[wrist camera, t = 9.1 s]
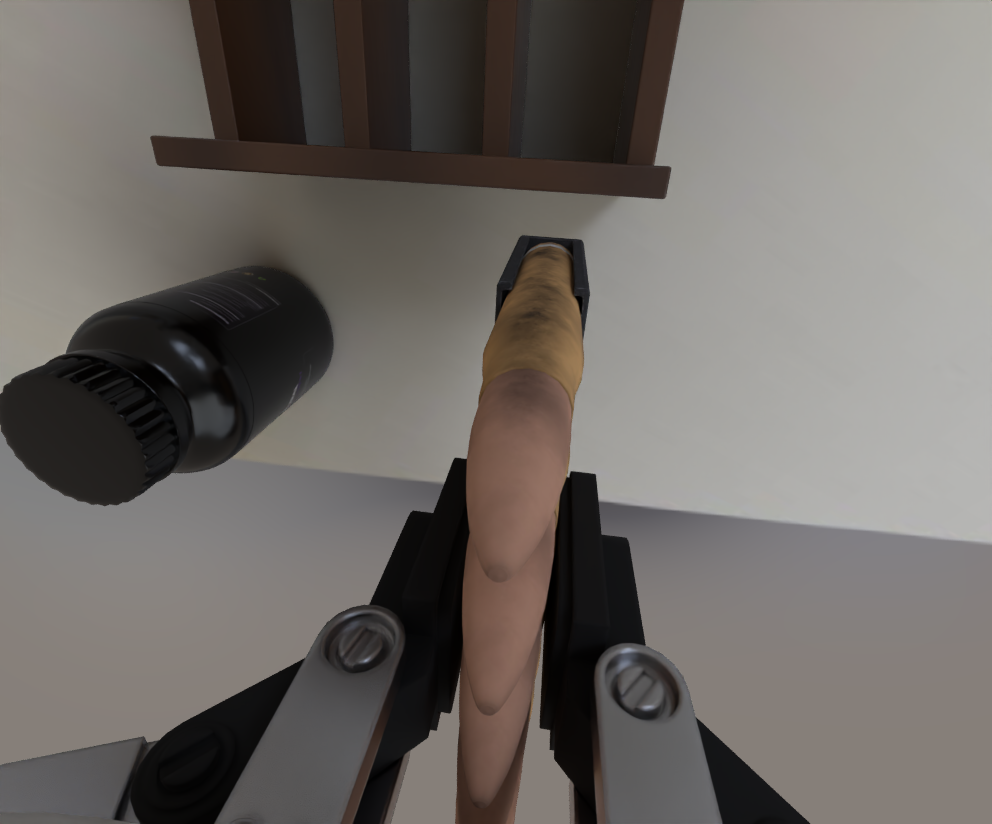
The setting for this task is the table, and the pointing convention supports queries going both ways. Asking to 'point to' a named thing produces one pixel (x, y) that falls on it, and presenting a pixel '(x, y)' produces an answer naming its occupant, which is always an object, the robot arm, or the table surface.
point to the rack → (408, 101)
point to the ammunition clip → (515, 512)
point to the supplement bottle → (167, 383)
